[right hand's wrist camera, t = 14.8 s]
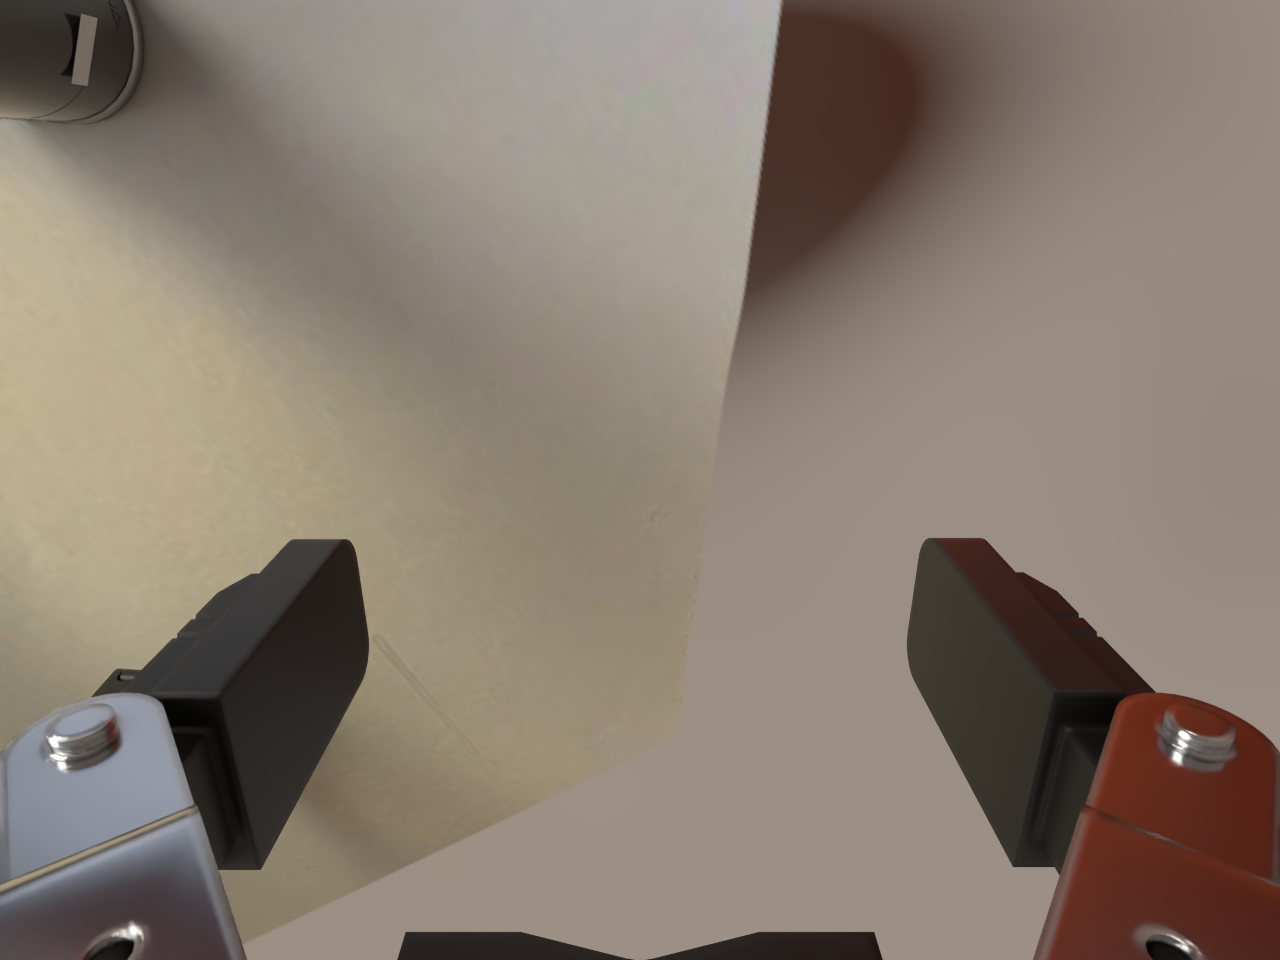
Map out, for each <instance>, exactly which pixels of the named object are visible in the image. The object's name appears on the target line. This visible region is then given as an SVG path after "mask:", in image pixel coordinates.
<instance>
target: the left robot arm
mask: <svg viewBox="0 0 1280 960" xmlns="http://www.w3.org/2000/svg"><path fill="white" fill-rule="evenodd" d="M140 671H141V670H131V669H116V670H115V671H114V672H113V673H112V674H111V675H110V676H109V678H108V679H107V680H106V681H105V682H104V683H103V684H102V685H101V687H100V688H99V689H98V690H97V691H96V692H95V693H94V694H93V696H92V697H95V696H100V695H105V694H113V693H119V692H120V691H121V690H122V689H123V688H124V687H125V686H126V685H127V684H128V683H129V682H130V681H131V680H132V679H133V678H134V677H135V676H136V675H137V674H138V673H139V672H140Z"/></svg>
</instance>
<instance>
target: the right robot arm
mask: <svg viewBox="0 0 1280 960" xmlns="http://www.w3.org/2000/svg"><path fill="white" fill-rule="evenodd" d="M142 62H143V37H142V31H141V26H140V21H139V18H138V14H137V11H136V8H135V6H134V4H133V1H132V0H0V119H6V120H20V121H22V120H26V119H36V120H45V121H49V122H54V123H62V124H86V123H92V122H95V121H99V120H101V119H104V118H106V117H108V116H110V115H111V114H113V113H114V112H116V111H117V110H118V109H120V108H121V107H122V106H123V105H124V104H125V102H126V101H127V100H128V99H129V97H130V96H131V94H132V93H133V91H134V89H135V87H136V85H137V82H138V79H139V76H140V73H141V68H142ZM177 635H178V636H177V639H172V640H171V641H170V642H169V643H168V644H167V645H166V646H165V647H164V648H163V649H162V650H161V651H160V652H159V653H158V654H157V655H156V656H155V657H154V658H153V659H152V660H151V661H150V662H149V663H148V664H147V665H146V666H145V667H144V668H143V669H142V670H141V671H140V672H139V673H138V674H137V675H136V676H135V677H134V678H133V679H132V680H131V681H130V682H129V683H128V684H127V685H126V686H125V687H124V688H123V689H122V690H121V691H120V692H119V693H113V694H105V695H100V696H95V697H91V698H87V699H84V700H80V701H77V702H74V703H71V704H69V705H66V706H63V707H61V708H59V709H57V710H54V711H52V712H50V713H48V714H46V715H44V716H42V717H41V718H39V719H37V720H35V721H34V722H32V723H31V724H29V725H28V726H26V727H25V728H24V729H22V730H21V731H20V732H18V733H17V734H16V735H15V736H14V737H13V738H12V739H11V740H10V741H9V742H8V743H7V744H6V745H5V747H4V748H3V749H2V751H1V753H0V960H247V958H246V955H245V952H244V949H243V945H242V942H241V939H240V936H239V933H238V930H237V927H236V924H235V920H234V917H233V914H232V911H231V908H230V905H229V902H228V899H227V895H226V892H225V889H224V886H223V883H222V880H221V877H220V874H219V870H261V868H262V866H263V865H264V863H265V861H266V859H267V857H268V855H269V853H270V852H271V850H272V848H273V846H274V844H275V842H276V840H277V839H278V837H279V835H280V833H281V831H282V829H283V827H284V826H285V824H286V822H287V820H288V818H289V816H290V814H291V813H292V811H293V809H294V807H295V805H296V803H297V801H298V800H299V798H300V796H301V794H302V792H303V790H304V788H305V786H306V785H307V783H308V781H309V779H310V777H311V775H312V773H313V772H314V770H315V768H316V766H317V764H318V762H319V760H320V759H321V757H322V755H323V753H324V751H325V749H326V747H327V746H328V744H329V742H330V740H331V738H332V736H333V734H334V733H335V731H336V729H337V727H338V725H339V723H340V721H341V720H342V718H343V716H344V714H345V712H346V710H347V708H348V707H349V705H350V703H351V701H352V699H353V697H354V695H355V694H356V692H357V690H358V688H359V686H360V684H361V682H362V680H363V678H364V675H365V672H366V668H367V662H368V654H369V637H368V630H367V623H366V616H365V609H364V603H363V596H362V589H361V582H360V576H359V569H358V562H357V556H356V552H355V549H354V547H353V545H352V543H351V542H350V541H349V540H347V539H293V540H291V541H290V542H288V543H287V544H286V545H285V547H284V548H283V549H282V550H281V551H280V552H279V553H278V554H277V555H276V556H275V557H274V558H273V559H272V560H271V562H270V563H269V564H268V565H267V566H266V567H265V568H264V569H263V570H262V571H261V572H260V573H259V574H250V575H249V576H247V577H245V578H243V579H241V580H240V581H238V582H236V583H234V584H232V585H231V586H229V587H227V588H225V589H224V590H222V591H220V592H218V593H217V594H216V595H215V596H214V597H213V598H212V599H211V600H210V601H209V602H208V603H207V604H206V605H205V606H204V607H203V608H202V609H201V610H200V611H199V612H198V613H197V614H196V619H195V620H190V621H189V622H188V623H187V624H186V625H185V626H184V628H183V629H182V630H181V631H180V632H179V633H178V634H177ZM907 653H908V661H909V666H910V670H911V674H912V677H913V679H914V681H915V683H916V685H917V687H918V689H919V691H920V693H921V694H922V696H923V698H924V700H925V702H926V704H927V706H928V707H929V709H930V711H931V713H932V715H933V717H934V719H935V721H936V722H937V725H938V726H939V728H940V730H941V732H942V734H943V736H944V738H945V739H946V741H947V743H948V745H949V747H950V749H951V751H952V753H953V755H954V756H955V758H956V760H957V762H958V764H959V766H960V768H961V770H962V772H963V773H964V775H965V777H966V779H967V781H968V783H969V785H970V787H971V788H972V790H973V792H974V794H975V796H976V798H977V800H978V802H979V804H980V805H981V807H982V809H983V811H984V813H985V815H986V817H987V819H988V820H989V822H990V824H991V826H992V828H993V830H994V832H995V834H996V836H997V837H998V839H999V841H1000V843H1001V845H1002V847H1003V849H1004V851H1005V852H1006V854H1007V856H1008V858H1009V860H1010V862H1011V864H1012V866H1013V867H1055V868H1056V870H1057V872H1058V873H1059V875H1060V877H1059V880H1058V883H1057V886H1056V889H1055V892H1054V896H1053V899H1052V902H1051V905H1050V908H1049V911H1048V914H1047V917H1046V920H1045V924H1044V927H1043V930H1042V933H1041V936H1040V939H1039V942H1038V946H1037V949H1036V952H1035V955H1034V958H1033V960H1280V753H1279V751H1278V749H1277V748H1276V747H1275V745H1274V744H1273V743H1272V742H1271V741H1270V740H1269V739H1268V738H1267V737H1266V736H1265V735H1264V734H1263V733H1262V732H1260V731H1259V730H1258V729H1256V728H1255V727H1254V726H1252V725H1251V724H1249V723H1248V722H1246V721H1244V720H1243V719H1241V718H1239V717H1238V716H1236V715H1234V714H1232V713H1230V712H1228V711H1226V710H1223V709H1221V708H1219V707H1217V706H1214V705H1211V704H1209V703H1206V702H1203V701H1200V700H1196V699H1193V698H1189V697H1185V696H1180V695H1175V694H1167V693H1156V692H1155V691H1154V690H1153V689H1152V688H1151V687H1150V686H1149V685H1148V684H1147V683H1146V682H1145V681H1144V680H1143V679H1142V678H1141V677H1140V676H1139V675H1138V674H1137V673H1136V672H1135V671H1134V670H1133V669H1132V668H1131V667H1130V665H1129V664H1128V663H1127V662H1126V661H1125V660H1124V659H1123V658H1122V657H1121V656H1120V655H1119V654H1118V653H1117V652H1116V651H1115V650H1114V649H1113V648H1112V647H1111V646H1110V645H1109V644H1108V643H1107V642H1106V641H1105V640H1104V639H1103V638H1102V637H1097V632H1096V631H1095V630H1094V629H1093V628H1092V627H1091V626H1090V625H1089V624H1088V622H1086V620H1085V619H1084V618H1079V614H1078V612H1077V611H1076V610H1075V609H1074V608H1073V607H1072V606H1071V605H1070V604H1069V603H1068V602H1067V601H1066V600H1065V599H1064V598H1063V597H1062V596H1061V595H1060V594H1059V593H1058V592H1057V591H1056V590H1054V589H1052V588H1050V587H1048V586H1047V585H1045V584H1043V583H1041V582H1040V581H1038V580H1036V579H1034V578H1032V577H1031V576H1029V575H1027V574H1025V573H1024V572H1015V571H1014V570H1013V569H1012V568H1011V567H1010V566H1009V565H1008V564H1007V563H1006V561H1005V560H1004V559H1003V558H1002V557H1001V556H1000V555H999V554H998V553H997V552H996V551H995V549H994V548H993V547H992V546H991V545H990V544H989V543H988V542H987V541H986V540H985V539H982V538H928V539H926V540H925V541H924V543H923V545H922V547H921V550H920V554H919V559H918V566H917V573H916V580H915V586H914V593H913V600H912V607H911V614H910V621H909V628H908V636H907ZM397 960H632V959H626V958H622V957H618V956H614V955H610V954H606V953H602V952H598V951H594V950H590V949H586V948H582V947H578V946H574V945H570V944H566V943H562V942H558V941H554V940H550V939H546V938H542V937H538V936H534V935H530V934H526V933H522V932H406V933H405V937H404V940H403V943H402V946H401V950H400V953H399V956H398V959H397ZM648 960H883V959H882V956H881V953H880V950H879V946H878V943H877V940H876V937H875V933H874V932H758V933H754V934H750V935H746V936H742V937H738V938H734V939H730V940H726V941H722V942H718V943H714V944H710V945H706V946H702V947H698V948H694V949H690V950H686V951H682V952H678V953H674V954H670V955H666V956H662V957H658V958H654V959H648Z"/></svg>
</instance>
